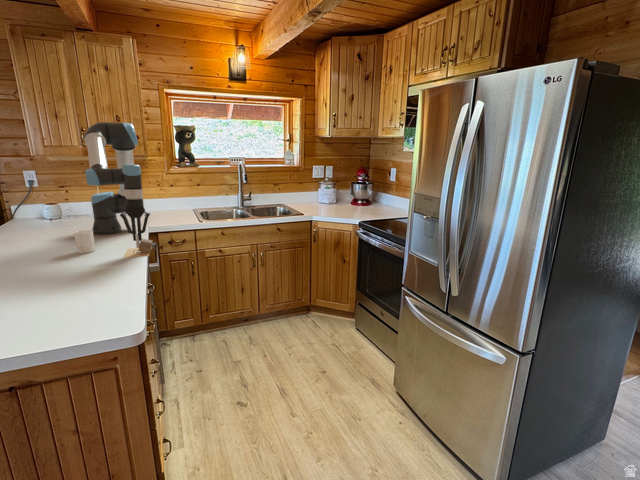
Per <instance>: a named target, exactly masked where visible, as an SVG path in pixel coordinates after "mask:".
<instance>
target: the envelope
mask: <svg viewBox="0 0 640 480" xmlns="http://www.w3.org/2000/svg"><path fill="white" fill-rule="evenodd" d="M151 249H153V247H151ZM138 250H139V248H137V247H134V248H127V250H126V251H125V253H124V255H123V257H122V259H123V258H125V259H126V258H137V257H138V258H139V257H150V253H151V252H150V253H147V252H141V251H138Z"/></svg>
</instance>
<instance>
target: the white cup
mask: <svg viewBox="0 0 640 480" xmlns="http://www.w3.org/2000/svg"><path fill="white" fill-rule="evenodd" d="M73 236H74V241H75V245H76V248H77V252H78V253H79V254H89V253H93V252H95V239H94V237H95V236H94V234H93V231H92V229H80V230H76V231H74V232H73Z"/></svg>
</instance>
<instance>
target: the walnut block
mask: <svg viewBox="0 0 640 480" xmlns="http://www.w3.org/2000/svg"><path fill="white" fill-rule="evenodd" d="M153 241H154V240H151V239H147V238H142V240H141V241H139V242H140V245H139V250H138V251H141V252H147V253H151V250H152V248H153V247H152V246H153ZM151 247H152V248H151Z"/></svg>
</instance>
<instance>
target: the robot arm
mask: <svg viewBox="0 0 640 480" xmlns="http://www.w3.org/2000/svg"><path fill="white" fill-rule="evenodd" d="M135 129H136V128H135V127H134V125H133V124H132V123H127V122H109V121H108V122H105V121H102V122H101V121H100V122H95V123H94V124H92V125H90V127H88V128H87V129H86V131H85V133H84V136H83V139H84V140H83V141H84V144H85V145H86V147H87V154H88V163H89V168H87V169H85V170H84V173H85V180H86V184H87V185H88V186H97V187H98V186H111V185H112V186H113V185H117V186H118V185H119V189H118V190H117V193H116V194H115V193H114V192H113V191H104V192H99V193H96V194H95V193H94V194H92V195H91V198H90V199H91V201H90V204H91V207H92V213H93V219H94V220H93V225H92V228H91V230H92V231H93V235H110V234H116V233H120V232H122V225H121V223H120V222H119V220H118V217H117V214H119V216H120V217H121V218H122V220H123V222H124V225H125V228H126V230H127V233H128V234H131V235H132V239H133V241H134V242H135V246H136V247H135V248H139V245H140V241H141V240H142V239H143V237H142V234H144V233H145V232H146V229H147V224H148V219H149V217H150V216H151V212H148V211H147V210H146V209H145V206H144V198H143V197H144V195H143V184H142V183H143V182H142V171H141V169H142V168H141V166H140V165H139V164H135V162H134V160H135V159H134V150H136V146H138V145H139V143H138V136H137V134H136V130H135ZM106 145H108V146H111V148H112V150H114V151H115V157H116V158H115V159H116V166H117V167H116V168H109V166H108V165H109V164H108V159H107V154H106V152H107V151H106V148H105V147H106ZM143 215H144V220H143V224H142V222H141V219H142V216H143ZM127 216H128V217H129V218H130V222H131V225H130V223H129V220H128V217H127ZM136 224H137V226H136ZM136 227H137V228H136Z"/></svg>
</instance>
